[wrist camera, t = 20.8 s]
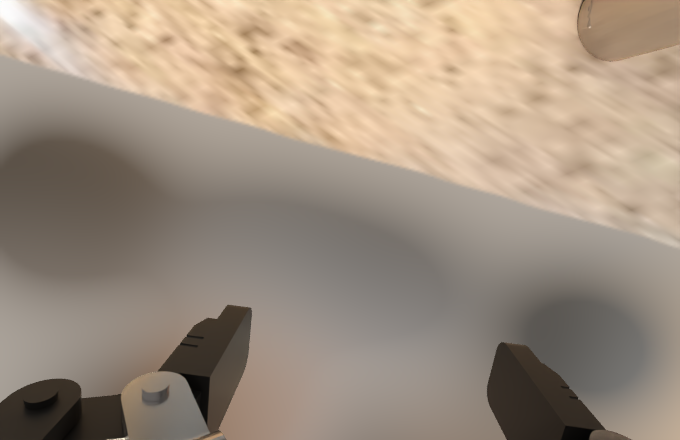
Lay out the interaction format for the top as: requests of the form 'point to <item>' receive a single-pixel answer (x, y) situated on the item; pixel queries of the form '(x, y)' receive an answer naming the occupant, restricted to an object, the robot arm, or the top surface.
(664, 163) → the top surface
